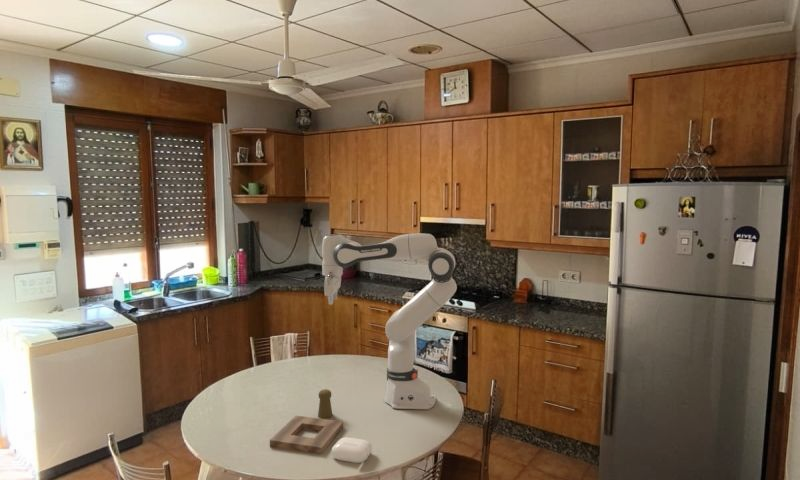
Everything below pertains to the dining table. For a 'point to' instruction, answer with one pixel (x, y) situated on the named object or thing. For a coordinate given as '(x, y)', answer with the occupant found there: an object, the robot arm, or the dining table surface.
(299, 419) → the walnut dock
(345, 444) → the earbud case
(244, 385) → the dining table surface
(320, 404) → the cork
